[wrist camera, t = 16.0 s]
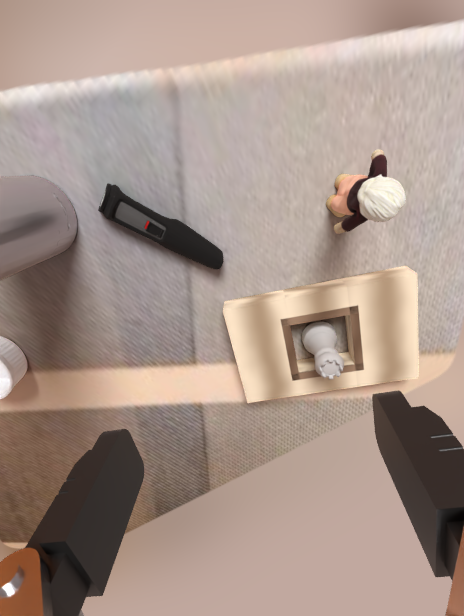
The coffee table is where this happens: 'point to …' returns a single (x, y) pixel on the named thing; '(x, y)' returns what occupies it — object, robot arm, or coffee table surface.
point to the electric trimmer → (159, 228)
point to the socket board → (317, 306)
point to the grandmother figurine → (366, 196)
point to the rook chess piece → (323, 348)
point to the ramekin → (10, 366)
